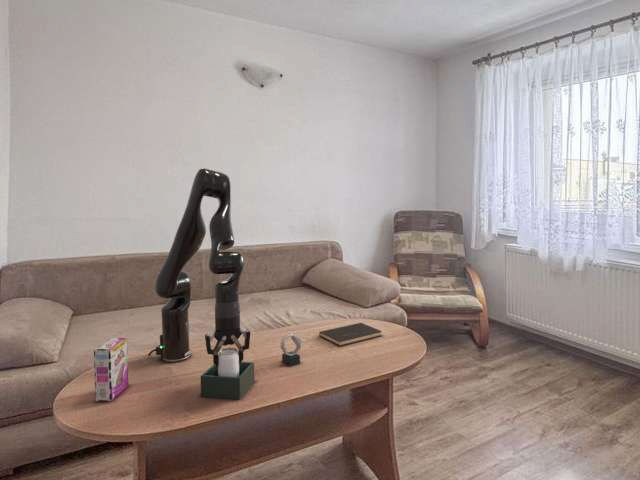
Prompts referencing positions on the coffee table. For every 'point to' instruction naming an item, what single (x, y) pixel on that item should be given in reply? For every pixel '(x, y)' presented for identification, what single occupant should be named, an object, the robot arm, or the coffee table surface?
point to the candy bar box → (111, 369)
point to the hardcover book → (350, 334)
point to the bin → (227, 382)
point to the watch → (291, 357)
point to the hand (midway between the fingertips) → (228, 363)
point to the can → (228, 362)
